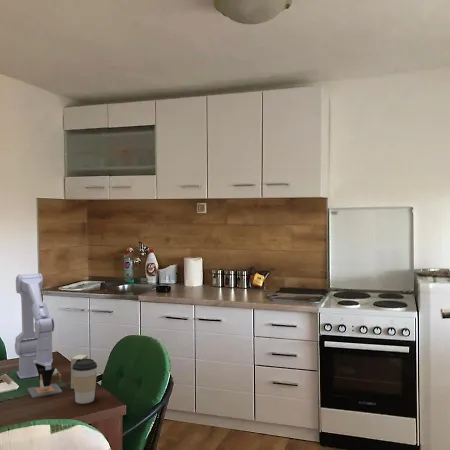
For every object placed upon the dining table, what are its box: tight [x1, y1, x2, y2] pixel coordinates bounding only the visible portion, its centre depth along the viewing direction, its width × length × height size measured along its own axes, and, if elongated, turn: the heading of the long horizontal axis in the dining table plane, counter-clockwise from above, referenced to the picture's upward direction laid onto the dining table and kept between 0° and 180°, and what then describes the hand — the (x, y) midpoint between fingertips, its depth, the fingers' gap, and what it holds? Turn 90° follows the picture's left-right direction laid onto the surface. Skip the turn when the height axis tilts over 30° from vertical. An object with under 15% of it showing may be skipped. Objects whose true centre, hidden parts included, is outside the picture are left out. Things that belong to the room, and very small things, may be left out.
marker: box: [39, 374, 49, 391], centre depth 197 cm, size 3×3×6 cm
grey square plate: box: [27, 383, 63, 399], centre depth 197 cm, size 10×11×1 cm
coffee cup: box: [72, 358, 98, 405], centre depth 188 cm, size 9×9×15 cm
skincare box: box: [70, 354, 88, 390], centre depth 202 cm, size 6×4×12 cm
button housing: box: [50, 370, 62, 384], centre depth 208 cm, size 6×6×3 cm
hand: (44, 383), depth 197 cm, fingers open, 7 cm apart
